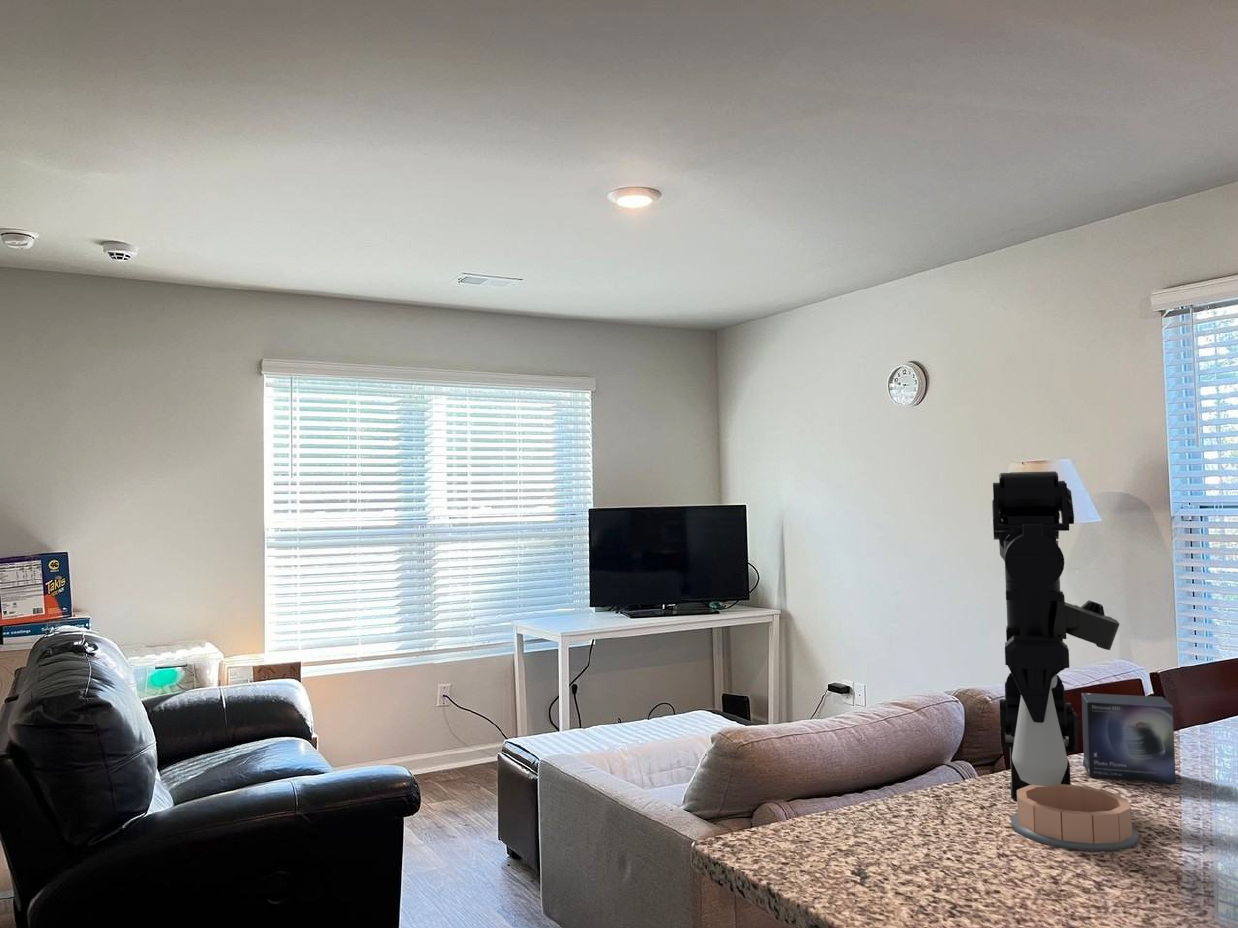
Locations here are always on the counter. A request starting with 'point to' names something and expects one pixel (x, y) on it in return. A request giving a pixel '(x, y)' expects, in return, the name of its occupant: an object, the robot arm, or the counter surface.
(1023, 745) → the salt shaker
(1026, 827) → the socket
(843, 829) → the counter surface
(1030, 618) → the robot arm
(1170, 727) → the small box
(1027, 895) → the counter surface
